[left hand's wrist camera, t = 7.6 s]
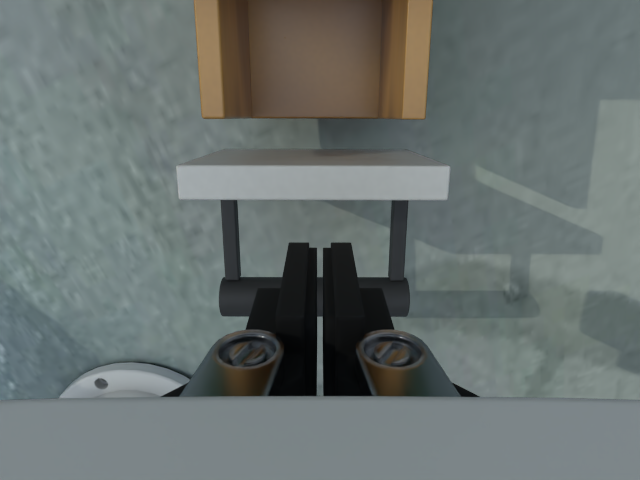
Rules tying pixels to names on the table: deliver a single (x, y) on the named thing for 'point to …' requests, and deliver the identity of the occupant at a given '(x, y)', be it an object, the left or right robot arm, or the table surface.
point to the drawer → (313, 102)
